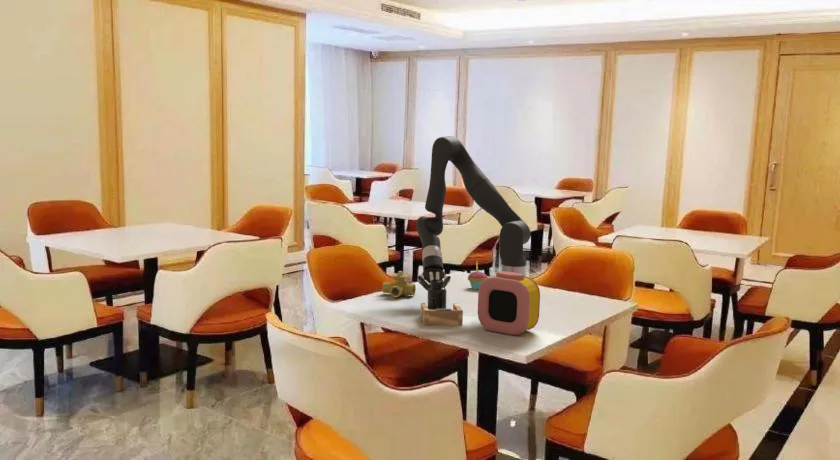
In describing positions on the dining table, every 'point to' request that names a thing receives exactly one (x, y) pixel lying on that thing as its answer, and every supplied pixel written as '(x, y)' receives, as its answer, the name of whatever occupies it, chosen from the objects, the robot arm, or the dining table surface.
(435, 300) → the supplement bottle
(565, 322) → the dining table surface
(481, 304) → the alarm clock
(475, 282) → the cupcake
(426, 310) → the frame
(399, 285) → the ball valve
